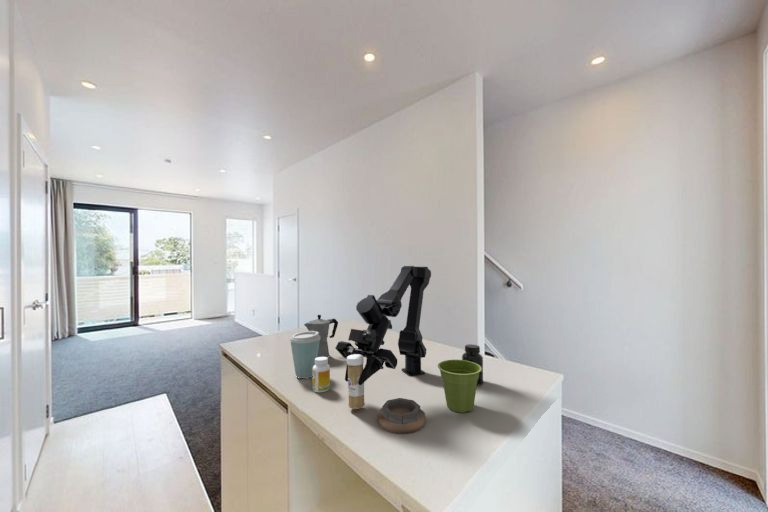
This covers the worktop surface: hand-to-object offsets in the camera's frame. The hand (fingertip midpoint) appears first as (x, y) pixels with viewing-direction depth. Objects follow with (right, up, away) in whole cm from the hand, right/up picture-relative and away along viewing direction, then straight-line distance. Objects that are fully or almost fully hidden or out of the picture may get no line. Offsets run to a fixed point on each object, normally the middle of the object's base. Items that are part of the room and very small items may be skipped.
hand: (352, 382), depth 81 cm
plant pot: (+29, -8, +2) cm, 31 cm away
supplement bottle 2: (+38, -8, +20) cm, 44 cm away
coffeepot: (-18, -9, +48) cm, 52 cm away
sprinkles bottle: (+1, -7, +1) cm, 7 cm away
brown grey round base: (+13, -7, -5) cm, 16 cm away
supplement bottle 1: (-11, -8, +14) cm, 20 cm away
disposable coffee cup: (-20, -9, +26) cm, 34 cm away
